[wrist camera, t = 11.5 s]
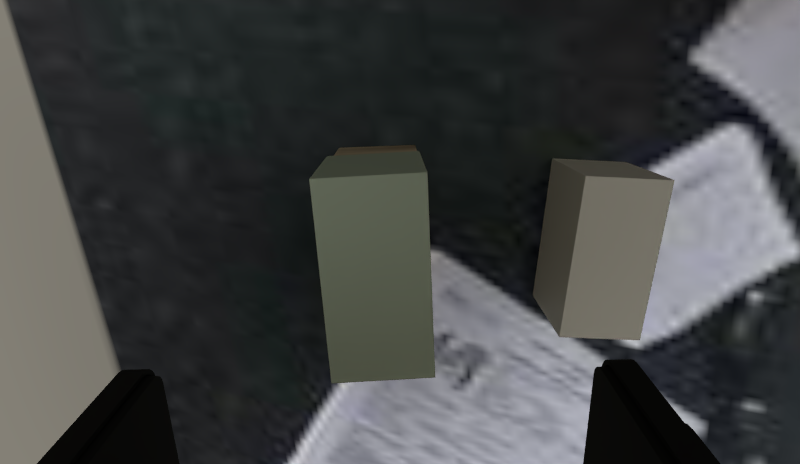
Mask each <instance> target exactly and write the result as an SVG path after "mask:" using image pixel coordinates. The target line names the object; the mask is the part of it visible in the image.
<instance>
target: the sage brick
mask: <svg viewBox="0 0 800 464" xmlns="http://www.w3.org/2000/svg"><path fill="white" fill-rule="evenodd" d="M309 181H310V190H311V199H312V209H313V218H314V227H315V236H316V245H317V255H318V264H319V273H320V282H321V291H322V301H323V310H324V319H325V328H326V337H327V347H328V356H329V365H330V374H331V383H346V382H364V381H381V380H399V379H416V378H434V377H435V361H434V334H433V308H432V282H431V255H430V229H429V202H428V176H427V170H426V167H425V165H424V162H423V160H422V157H421V154H420V152H419V151H410V152H393V153H375V154H357V155H340V156H327V157H326V158H325V159H324V161H323V162H322V163H321V165H320V166H319V167H318V168H317V170H316V171H315V172H314V174H313V175H312V176H311V177H310V179H309Z"/></svg>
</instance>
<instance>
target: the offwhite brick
mask: <svg viewBox="0 0 800 464" xmlns="http://www.w3.org/2000/svg"><path fill="white" fill-rule="evenodd" d="M673 185H674V180H672V179H670V178H667V177H664V176H662V175H659V174H656V173H654V172H651V171H648V170H646V169H643V168H640V167H638V166H635V165H632V164H630V163H627V162H615V161H595V160H575V159H554V158H552V163H551V170H550V177H549V184H548V191H547V198H546V205H545V212H544V219H543V226H542V234H541V241H540V248H539V255H538V262H537V269H536V276H535V283H534V290H533V297H534V298H535V300H536V301H537V303H538V304H539V306H540V307H541V309H542V311H543V312H544V314H545V315H546V317H547V318H548V320H549V322H550V323H551V325H552V326H553V328H554V329H555V331H556V332H557V334H558V336H559V337H571V338H598V339H625V340H640V336H641V332H642V327H643V323H644V318H645V313H646V309H647V304H648V300H649V295H650V290H651V286H652V281H653V277H654V272H655V267H656V263H657V258H658V254H659V249H660V244H661V240H662V235H663V231H664V226H665V221H666V217H667V212H668V208H669V203H670V198H671V194H672V189H673Z"/></svg>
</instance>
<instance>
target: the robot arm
mask: <svg viewBox="0 0 800 464" xmlns="http://www.w3.org/2000/svg"><path fill="white" fill-rule="evenodd" d="M37 464H179V459H178V454H177V449H176V444H175V439H174V434H173V430H172V425H171V420H170V415H169V410H168V405H167V400H166V395H165V390H164V385H163V381H162V379H161V377H159V376H155V374H154V372H153V371H152V370H150V369H141V370H122V371H120V372H119V373H118V374H117V375H116V376H115V377H114V378H113V380H112V381H111V382H110V383H109V384H108V385H107V386H106V387H105V388H104V390H103V391H102V392H101V393H100V394H99V395H98V396H97V397H96V398H95V400H94V401H93V402H92V403H91V404H90V405H89V406H88V407H87V408H86V410H85V411H84V412H83V413H82V414H81V415H80V416H79V417H78V418H77V420H76V421H75V422H74V423H73V424H72V425H71V426H70V427H69V429H68V430H67V431H66V432H65V433H64V434H63V435H62V436H61V437H60V439H59V440H58V441H57V442H56V443H55V444H54V445H53V446H52V447H51V449H50V450H49V451H48V452H47V453H46V454H45V455H44V457H42V459H41V460H40V461H39V462H38V463H37ZM583 464H720V463H719V461H718V460H717V459H716V458H715V456H714V455H713V454H712V453H711V451H710V450H709V449H708V448H707V446H706V445H705V444H704V443H703V441H702V440H701V439H700V438H699V436H698V435H697V434H696V433H695V431H694V430H693V429H692V428H691V427H690V426H689V425H688V424H685V423H684V422H683V421H682V419H681V418H680V417H679V416H678V414H677V413H676V412H675V411H674V409H673V408H672V407H671V405H670V404H669V403H668V402H667V400H666V399H665V398H664V397H663V395H662V394H661V393H660V392H659V390H658V389H657V388H656V386H655V385H654V384H653V383H652V381H651V380H650V379H649V378H648V376H647V375H646V374H645V373H644V371H643V370H642V369H641V367H640V366H639V365H638V364H637V362H635V361H634V360H632V359H621V360H605V361H604V362H603V364H602V367H596V369H595V371H594V378H593V386H592V395H591V403H590V412H589V420H588V429H587V437H586V446H585V454H584V462H583Z"/></svg>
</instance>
